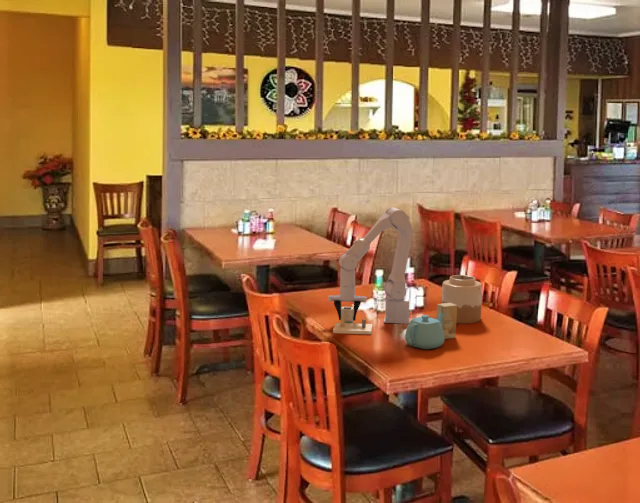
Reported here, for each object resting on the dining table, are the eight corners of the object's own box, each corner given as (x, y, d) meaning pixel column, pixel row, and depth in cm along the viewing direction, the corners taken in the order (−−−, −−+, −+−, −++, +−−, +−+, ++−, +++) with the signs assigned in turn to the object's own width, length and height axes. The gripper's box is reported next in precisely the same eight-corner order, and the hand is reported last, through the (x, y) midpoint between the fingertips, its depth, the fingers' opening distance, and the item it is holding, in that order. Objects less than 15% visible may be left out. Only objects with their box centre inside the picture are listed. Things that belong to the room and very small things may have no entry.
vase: (464, 326, 284) (465, 283, 281) (433, 318, 295) (434, 276, 292) (488, 319, 294) (490, 277, 291) (457, 311, 305) (459, 271, 302)
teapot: (458, 314, 259) (423, 323, 248) (457, 344, 261) (422, 354, 250) (431, 307, 269) (396, 315, 257) (430, 336, 271) (395, 345, 259)
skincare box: (442, 339, 266) (443, 306, 264) (434, 336, 270) (435, 304, 267) (456, 337, 269) (457, 304, 267) (449, 334, 272) (450, 302, 270)
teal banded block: (353, 322, 289) (353, 307, 288) (352, 325, 285) (352, 309, 284) (342, 321, 290) (342, 306, 289) (341, 324, 285) (341, 309, 284)
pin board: (372, 327, 282) (372, 316, 281) (371, 334, 272) (371, 323, 272) (335, 325, 284) (335, 315, 283) (333, 333, 274) (333, 321, 273)
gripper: (367, 283, 288) (366, 317, 290) (329, 282, 290) (329, 316, 292) (366, 287, 281) (365, 322, 283) (327, 286, 283) (327, 321, 285)
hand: (347, 319), depth 287 cm, fingers open, 5 cm apart
